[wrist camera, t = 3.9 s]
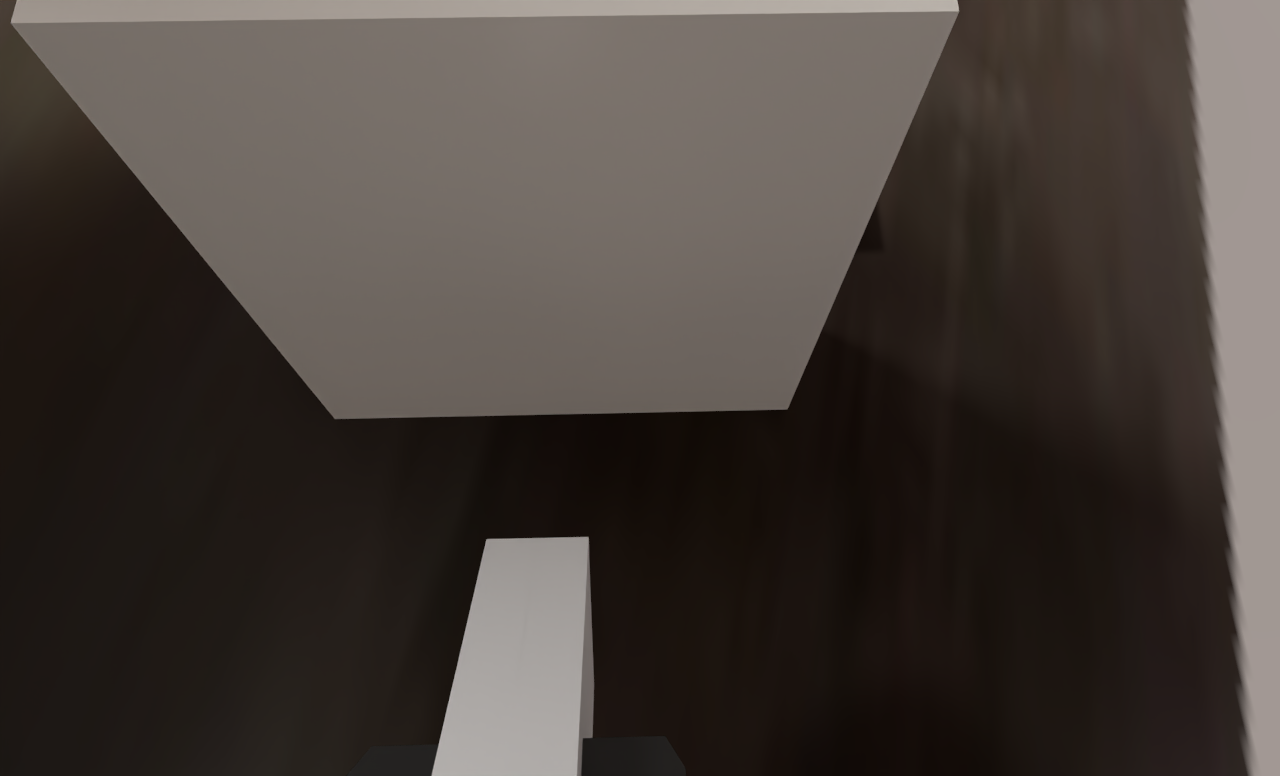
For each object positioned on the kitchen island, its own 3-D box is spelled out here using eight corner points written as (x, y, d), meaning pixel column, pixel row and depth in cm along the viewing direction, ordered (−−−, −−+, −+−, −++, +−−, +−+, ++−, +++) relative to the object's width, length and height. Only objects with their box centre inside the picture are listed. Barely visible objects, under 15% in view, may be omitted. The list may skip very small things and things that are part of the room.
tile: (787, 410, 21) (959, 11, 10) (334, 418, 21) (11, 23, 10) (777, 301, 22) (923, -168, 11) (345, 309, 22) (61, -161, 11)
